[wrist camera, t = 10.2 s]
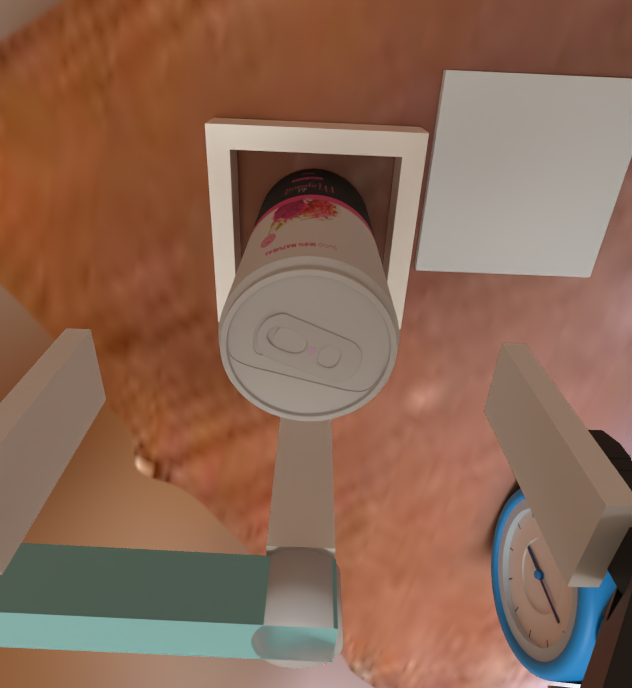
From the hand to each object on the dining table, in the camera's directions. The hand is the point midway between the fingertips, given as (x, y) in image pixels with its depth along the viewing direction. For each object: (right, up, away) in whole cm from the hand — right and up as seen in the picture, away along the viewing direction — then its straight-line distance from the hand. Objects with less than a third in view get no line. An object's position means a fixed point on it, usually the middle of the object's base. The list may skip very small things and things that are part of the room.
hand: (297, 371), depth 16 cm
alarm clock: (+20, -13, +27) cm, 36 cm away
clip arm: (-6, -9, +6) cm, 12 cm away
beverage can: (0, +8, +14) cm, 17 cm away
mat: (+13, +10, +13) cm, 21 cm away
